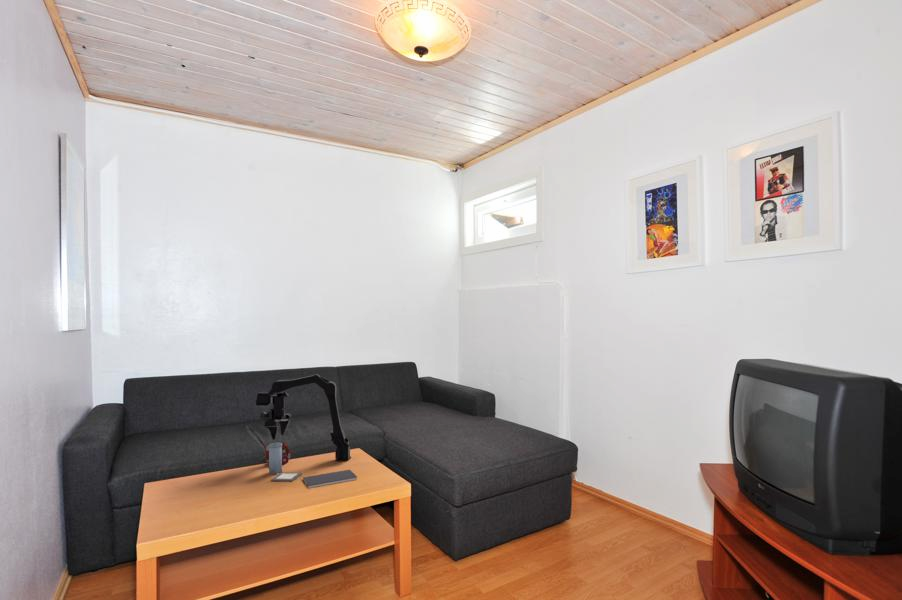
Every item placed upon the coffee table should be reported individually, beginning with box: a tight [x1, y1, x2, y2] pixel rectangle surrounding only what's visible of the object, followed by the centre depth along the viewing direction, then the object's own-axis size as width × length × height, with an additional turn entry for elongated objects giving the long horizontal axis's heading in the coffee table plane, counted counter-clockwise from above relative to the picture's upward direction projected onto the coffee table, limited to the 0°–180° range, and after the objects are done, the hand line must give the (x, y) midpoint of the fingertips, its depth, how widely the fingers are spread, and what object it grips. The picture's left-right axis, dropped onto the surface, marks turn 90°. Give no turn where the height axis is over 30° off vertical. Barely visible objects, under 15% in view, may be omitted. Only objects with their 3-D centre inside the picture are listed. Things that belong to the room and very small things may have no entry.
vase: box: [268, 442, 283, 475], centre depth 217 cm, size 6×6×13 cm
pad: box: [270, 472, 303, 482], centre depth 208 cm, size 10×10×1 cm
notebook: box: [302, 469, 358, 489], centre depth 204 cm, size 13×2×21 cm
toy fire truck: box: [264, 441, 291, 465], centre depth 231 cm, size 7×12×10 cm, turn 125°
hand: (278, 437), depth 231 cm, fingers open, 9 cm apart
